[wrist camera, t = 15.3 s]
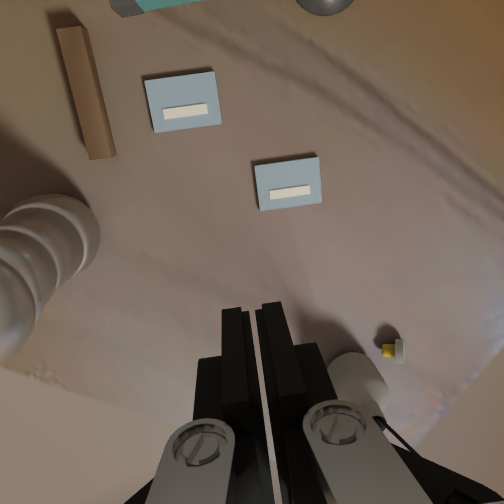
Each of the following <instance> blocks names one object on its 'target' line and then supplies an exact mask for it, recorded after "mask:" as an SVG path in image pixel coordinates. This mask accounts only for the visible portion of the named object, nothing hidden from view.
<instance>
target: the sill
mask: <svg viewBox="0 0 504 504" xmlns="http://www.w3.org/2000/svg"><path fill="white" fill-rule="evenodd" d="M56 31H57V35H58V39H59V43H60V47H61V51H62V55H63V59H64V62H65V66H66V70H67V74H68V78H69V82H70V86H71V90H72V94H73V98H74V102H75V105H76V109H77V113H78V117H79V121H80V125H81V129H82V133H83V137H84V141H85V145H86V149H87V152H88V156H89V160H95V159H103V158H110V157H113V156H115V155H116V150H115V146H114V142H113V138H112V133H111V129H110V125H109V120H108V116H107V112H106V108H105V103H104V99H103V95H102V90H101V86H100V82H99V77H98V73H97V69H96V65H95V60H94V56H93V52H92V47H91V43H90V39H89V35H88V30H87V29H85V28H84V27H82V26H75V27H68V28H60V29H56Z"/></svg>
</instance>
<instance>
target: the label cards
mask: <svg viewBox="0 0 504 504" xmlns="http://www.w3.org/2000/svg"><path fill="white" fill-rule="evenodd" d="M144 82H145V87H146V92H147V97H148V102H149V107H150V112H151V117H152V122H153V127H154V132H155V133H159V132H166V131H173V130H180V129H188V128H195V127H202V126H209V125H217V124H222V120H221V113H220V107H219V100H218V93H217V86H216V79H215V72H214V71H213V72H206V73H198V74H191V75H183V76H176V77H169V78H161V79H154V80H146V81H144ZM254 168H255V176H256V184H257V192H258V200H259V208H260V211H266V210H273V209H280V208H287V207H294V206H301V205H308V204H315V203H322V195H321V181H320V168H319V157H318V156H317V157H310V158H303V159H296V160H289V161H282V162H275V163H267V164H260V165H254Z"/></svg>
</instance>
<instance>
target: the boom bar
mask: <svg viewBox="0 0 504 504" xmlns="http://www.w3.org/2000/svg"><path fill="white" fill-rule="evenodd" d="M196 1H201V0H109V2H110V6H111V9H113V10H114V11H115V12H116V13H117V14H118V15H120V16H121V17H122V18H123V17H129V16H134V15H139V14H144V11H148V10H154V9H159V8H164V7H170V6H175V5H180V4H185V3H191V2H196Z"/></svg>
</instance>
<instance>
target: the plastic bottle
mask: <svg viewBox="0 0 504 504" xmlns="http://www.w3.org/2000/svg"><path fill="white" fill-rule="evenodd" d="M99 243H100V227H99V224H98V221H97V219H96V217H95V216H94V214H93V213H92V211H91V210H90V209H89V208H88V207H87V206H86V205H84V204H83V203H82V202H80V201H79V200H77V199H75V198H73V197H70V196H67V195H63V194H41V195H36V196H32V197H29V198H27V199H25V200H23V201H21V202H20V203H19V204H17V205H16V206H15V207H14V208H13V209H11V210H10V211H9V212H8V214H7V215H6V216H5V217H4V218H3V220H2V221H0V366H2V365H3V364H5V363H6V362H8V361H10V360H11V359H12V358H13V357H14V356H15V355H16V354H17V353H18V352H19V351H20V350H21V348H22V347H23V345H24V344H25V342H26V341H27V339H28V337H29V336H30V334H31V333H32V330H33V328H34V326H35V324H36V322H37V320H38V318H39V316H40V314H41V312H42V310H43V308H44V306H45V305H46V303H47V302H48V301H49V299H50V298H51V296H52V295H53V294H54V292H55V291H56V290H57V289H58V288H59V287H60V286H61V285H63V284H64V283H65V282H66V281H67V280H69V279H71V278H73V277H75V276H76V275H78V274H79V273H80V272H82V271H83V270H84V269H86V268H87V267H88V266H89V265H90V264H91V262H92V261H93V259H94V258H95V256H96V253H97V250H98V247H99Z"/></svg>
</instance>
